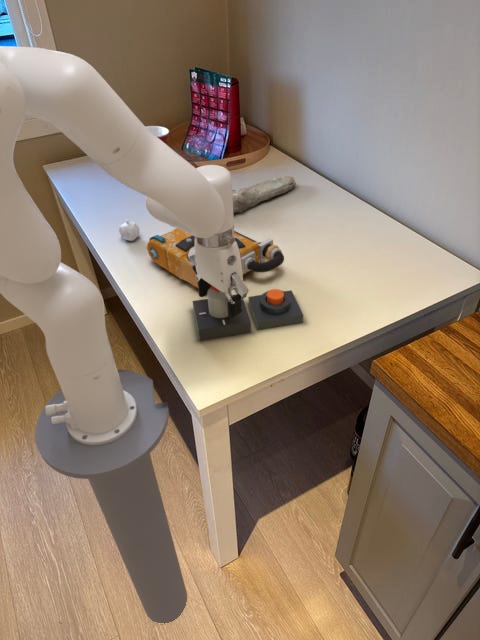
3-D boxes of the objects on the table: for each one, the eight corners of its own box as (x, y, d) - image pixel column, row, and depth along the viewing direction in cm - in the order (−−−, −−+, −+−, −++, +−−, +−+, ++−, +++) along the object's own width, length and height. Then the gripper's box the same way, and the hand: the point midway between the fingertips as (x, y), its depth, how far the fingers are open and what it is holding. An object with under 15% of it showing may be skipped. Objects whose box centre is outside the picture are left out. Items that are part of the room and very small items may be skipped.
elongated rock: (303, 193, 155) (282, 185, 161) (304, 177, 152) (282, 169, 158) (214, 224, 137) (195, 213, 144) (213, 206, 134) (193, 196, 141)
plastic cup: (174, 167, 171) (169, 133, 163) (143, 171, 170) (137, 136, 162) (171, 156, 179) (167, 123, 171) (142, 159, 178) (136, 126, 170)
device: (208, 203, 131) (292, 241, 114) (211, 230, 136) (291, 270, 119) (140, 234, 119) (222, 282, 102) (145, 262, 125) (224, 312, 108)
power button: (269, 306, 103) (269, 300, 102) (265, 296, 106) (265, 290, 105) (285, 304, 104) (285, 297, 102) (281, 294, 106) (281, 288, 105)
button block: (257, 329, 103) (257, 315, 100) (248, 304, 110) (248, 290, 107) (302, 322, 104) (303, 308, 102) (291, 297, 111) (291, 283, 108)
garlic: (122, 233, 137) (118, 216, 133) (141, 231, 137) (138, 215, 134) (120, 244, 132) (116, 227, 129) (140, 242, 132) (136, 225, 129)
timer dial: (237, 310, 103) (236, 290, 100) (219, 321, 101) (217, 301, 97) (221, 300, 106) (220, 280, 103) (204, 310, 104) (202, 290, 100)
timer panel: (199, 340, 101) (198, 329, 99) (193, 311, 109) (192, 300, 107) (251, 332, 102) (250, 321, 100) (241, 304, 110) (241, 292, 108)
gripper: (260, 242, 88) (261, 315, 99) (202, 211, 98) (208, 280, 109) (228, 258, 84) (233, 332, 95) (171, 224, 95) (181, 294, 106)
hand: (220, 304), depth 102 cm, fingers open, 9 cm apart
